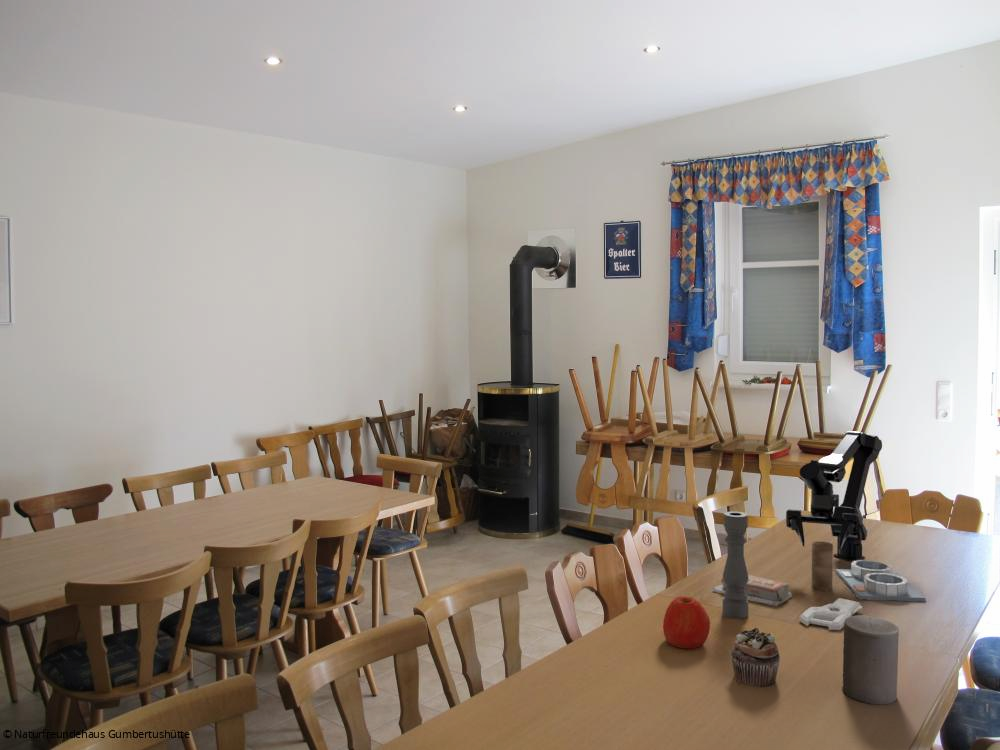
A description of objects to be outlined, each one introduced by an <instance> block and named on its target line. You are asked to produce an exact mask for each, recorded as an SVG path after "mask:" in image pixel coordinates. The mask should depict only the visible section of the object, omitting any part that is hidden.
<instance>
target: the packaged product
mask: <svg viewBox="0 0 1000 750" xmlns="http://www.w3.org/2000/svg"><path fill="white" fill-rule="evenodd" d="M720 582H721V584H718V585H717V586H715V587H714V588H712V592H714V593H718V594H722V595H724V592H726V590H727V587H726V584H725V582H724V580H723V577H722V578H721V580H720ZM744 587H745V589H744V591H745V593H746V594H747V599H746V600H747V601H751V602H756V603H761V604H765V605H768V606H773V607H778V606H780V605H782V604H783V603H784V601H785V602H786V601H788V600H789V599H791V598H793V594H792V592H791V591H789V587H790V586H789V583H787V582H783V581H778V580H774V579H769V578H765V577H760V576H756V575H751V574H748V582H747V584H746V585H745V586H744ZM779 604H780V605H779Z"/></svg>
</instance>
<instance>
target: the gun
mask: <svg viewBox="0 0 1000 750" xmlns="http://www.w3.org/2000/svg"><path fill="white" fill-rule="evenodd" d="M862 609H863V606H862V605H861V602H859V601H855V600H851V599H850V600H849V599H845V598H841V597H839V598H837V599H836V600H835V601H834V602H832V603H831V602H829V603H828V604H825V605H822V606H810V607H809V608H807V609H806V610H805V611H804V612H803V613H802V614H800V615H799V616H798V617H799V622H800V623H802V624H804V625H805V626H806V627H808V626H809V625H810V624H811V625H817V626H821V627H822V626H823V627H828V630H829V631H841V630H842V628H843V629H844V621H845V619H846V618H848V617H851V616H854V614H856V613H857V612H858V611H860V610H861V611H862Z"/></svg>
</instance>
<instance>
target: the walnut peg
mask: <svg viewBox="0 0 1000 750" xmlns="http://www.w3.org/2000/svg"><path fill="white" fill-rule="evenodd" d="M833 547H834V545H833V543H831V542H827V541H813V542H811V588H812V589H813V590H817V591H819V590H822V591H821V592H827V591H826V590H830V591H832V590H833V561H834V560H833V559H834V553H833V551H834V548H833Z"/></svg>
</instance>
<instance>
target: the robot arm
mask: <svg viewBox="0 0 1000 750" xmlns="http://www.w3.org/2000/svg"><path fill="white" fill-rule="evenodd" d="M882 449H883V442H882V439H880V438H879V436H878V435H871V434H866V433H865V432H863V431H855V430H854V431H853V430H849V431H846V432H845V434H844V437H843V439H842V440H841V441H840V443H838V445H837V446H836V448H834V450H833V451H832V453H831V454H830V455H827V456H824V457H822V458H820V459H819V460H817V459H815V460H814V459H810V462H808V463H805V464H804V465H802V467H800V468H799V475H800V477H801V479H802V481H803V482H804V484H805V485H806V486H807V488H808V489H809V490H811V491H810V493H811V497H810V515H809V514H808V515H806V514H802V510H801V509H790V508H789V509H787V510H786V512H785V519H786V520H785V522H786V523H785V524H786V527H787V528H788V529H791V531H795V532H796V534H797V537H798V538H799V541H800V543H801V545H802V547H803V548H805V545H806V544H805V535H804V534H805V533H804V527H803V523H809V524H818V525H829V526H830V531H831V535H832V537H836V538H837V539H836V540H837V543H836V544H837V547H836V548H837V552H836V553H833V557H837V558H839V559H841V560H842V559H843V560H846V561H848V562H849V561H850V562H853V561H857V560H865V559H866V556H864V555H863V544H862V541H866V540H867V536H868V531H867V528H866V526H865V524H864V517H863V515H862V512H861V509H860V508H861V504H862V500H863V495H864V491H865V487H866V483H867V479H868V475H869V470H870V467H871V465H872V463H874V462H875V461H876V460H877V459H878V457H879V455H880V453H881V452H880V451H882ZM851 458H853V459H852V460H853V461H852V465H851V468H850V469H851V470H850V473H849V477H848V482H847V484H846V489H845V492H844V493H845V494H844V496H843V500H842V503H841V504H840V500H839V499H840V494H835V493H834V490H833V489H834V485H833V484H832V483H840V482H841V481H843V479H844V478H845V475H846V473H847V471H846V468H845V467H846V465H847V464H848V463H849V461H850V460H851Z"/></svg>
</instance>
